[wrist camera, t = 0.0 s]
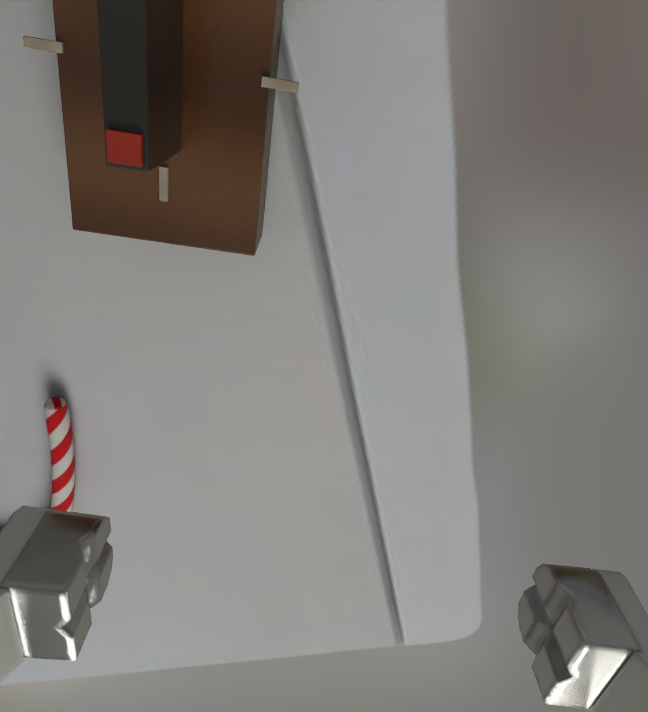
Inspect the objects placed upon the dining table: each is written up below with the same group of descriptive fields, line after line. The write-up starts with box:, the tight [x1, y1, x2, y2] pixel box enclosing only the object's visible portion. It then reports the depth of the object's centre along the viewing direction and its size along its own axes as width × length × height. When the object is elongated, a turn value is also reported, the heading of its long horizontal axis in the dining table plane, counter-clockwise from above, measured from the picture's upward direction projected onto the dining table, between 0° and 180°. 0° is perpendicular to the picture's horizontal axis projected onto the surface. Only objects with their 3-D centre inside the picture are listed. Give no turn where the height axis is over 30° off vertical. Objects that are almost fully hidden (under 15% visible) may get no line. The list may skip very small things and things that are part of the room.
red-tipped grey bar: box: [97, 0, 183, 172], centre depth 18 cm, size 6×1×5 cm, turn 171°
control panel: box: [23, 0, 299, 256], centre depth 21 cm, size 14×10×3 cm
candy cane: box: [44, 397, 75, 512], centre depth 34 cm, size 8×1×15 cm
